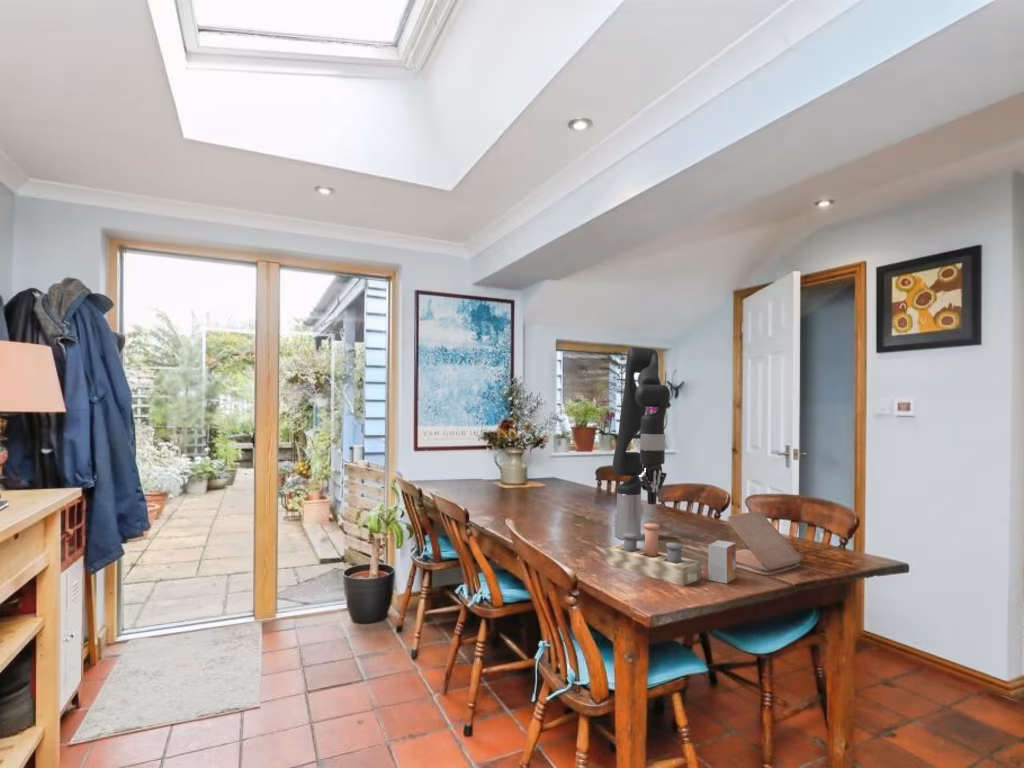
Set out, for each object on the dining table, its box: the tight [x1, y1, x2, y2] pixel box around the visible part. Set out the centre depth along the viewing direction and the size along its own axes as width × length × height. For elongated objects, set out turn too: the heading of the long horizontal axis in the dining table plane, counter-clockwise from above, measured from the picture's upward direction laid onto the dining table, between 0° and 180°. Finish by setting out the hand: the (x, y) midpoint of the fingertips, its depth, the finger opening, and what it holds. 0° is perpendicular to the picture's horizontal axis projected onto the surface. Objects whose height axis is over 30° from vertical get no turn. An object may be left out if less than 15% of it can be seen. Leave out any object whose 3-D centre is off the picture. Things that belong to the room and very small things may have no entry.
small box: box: [707, 539, 737, 585], centre depth 164 cm, size 8×6×10 cm
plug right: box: [665, 542, 683, 564], centre depth 165 cm, size 5×5×10 cm
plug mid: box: [643, 522, 660, 558], centre depth 171 cm, size 5×5×10 cm
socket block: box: [605, 543, 702, 587], centre depth 171 cm, size 28×10×5 cm, turn 41°
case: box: [726, 511, 802, 577], centre depth 181 cm, size 20×21×16 cm
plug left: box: [623, 533, 638, 552], centre depth 177 cm, size 5×5×10 cm
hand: (651, 504), depth 172 cm, fingers closed
